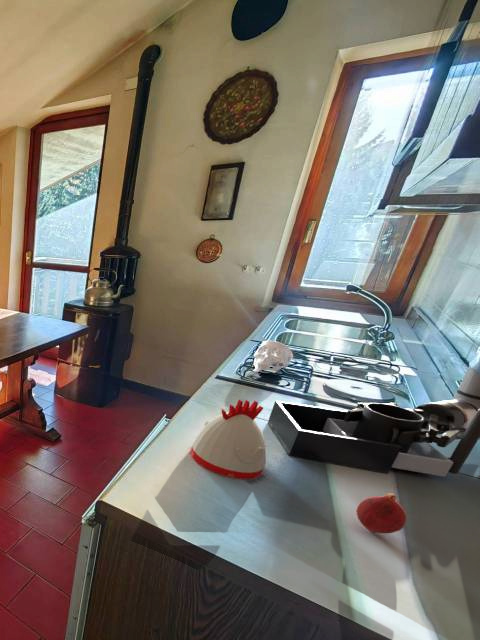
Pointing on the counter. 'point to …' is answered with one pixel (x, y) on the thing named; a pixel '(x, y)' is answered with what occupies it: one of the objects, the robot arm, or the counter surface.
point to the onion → (381, 514)
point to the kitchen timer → (232, 443)
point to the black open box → (326, 439)
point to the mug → (386, 424)
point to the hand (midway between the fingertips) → (372, 426)
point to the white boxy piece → (422, 449)
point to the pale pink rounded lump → (272, 356)
